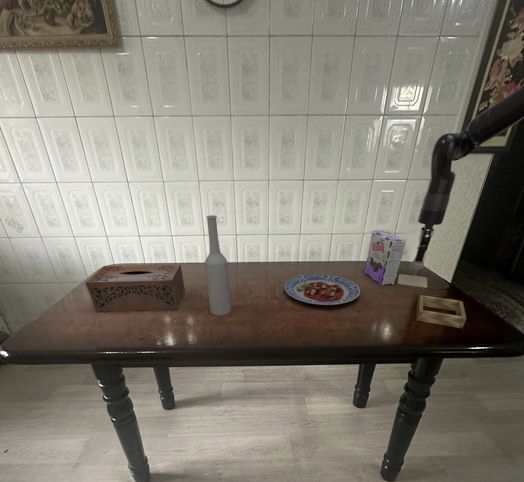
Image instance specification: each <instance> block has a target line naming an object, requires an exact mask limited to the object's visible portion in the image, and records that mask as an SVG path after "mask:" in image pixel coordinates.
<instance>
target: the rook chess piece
mask: <svg viewBox="0 0 524 482" xmlns="http://www.w3.org/2000/svg"><path fill="white" fill-rule="evenodd" d="M425 246H426V245H424V246H423V245H422V246H421V247H425ZM418 248H419V246H418V245H417V247H416V249H417V251H416V255H415V256H414V258H413V261H411V262H410V265H409V266H410V268H411V269H413V270H422V269H424V265H425V263H424V260H423V261H422V262H419V261H416V257H417V253H418Z"/></svg>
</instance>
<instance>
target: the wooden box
mask: <svg viewBox="0 0 524 482" xmlns="http://www.w3.org/2000/svg"><path fill="white" fill-rule="evenodd" d="M424 307H427V308H433V309H438V310H439V309H440V310H444V311H445V310H447V311H452V312H455V314H449V313H443V312H438V311H432V310H431V311H430V310H424ZM415 318H416V319H415V320H416V321H417V322H422V323H428V324H435V325H440V326H444V327H445V326H447V327H451V328H458V329H463V328H464V326H465V324H466V321H467V315H466V311H465V306H464V302H463V301H462V300H457V299H450V298H443V297H436V296H429V295H424V294H420V295H419V296H418V300H417V303H416V317H415Z"/></svg>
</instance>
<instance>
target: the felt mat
mask: <svg viewBox="0 0 524 482" xmlns="http://www.w3.org/2000/svg"><path fill="white" fill-rule="evenodd" d="M397 285H401V286H402V285H403V286H407V287H415V288H416V287H417V288H424V289H428V277H427V276H419V275H412V274H411V275H410V274H402V273H399V274H398V278H397Z"/></svg>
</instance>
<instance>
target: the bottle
mask: <svg viewBox="0 0 524 482" xmlns="http://www.w3.org/2000/svg"><path fill="white" fill-rule="evenodd" d="M217 218H218V217H217V215H213V214H210V215H207V216H206V222H207V231H208V242H209V245H208V246H209V253H208V255H207V257H206V258H205V260H204V267H205V277H206V286H207V293H208V303H209V310H210V313H211V314H212V315H214V316H225V315H228V314H230V313H232V301H231V299H232V298H231V291H230V290H231V288H230V279H229V268H228V267H229V266H228V260H227V258H226V257H225V256H224V254H222V252H221V250H220V249H221V248H220V242H219V233H218V232H219V231H218V223H217Z"/></svg>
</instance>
